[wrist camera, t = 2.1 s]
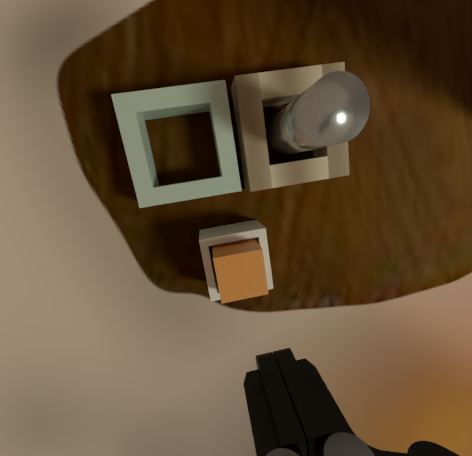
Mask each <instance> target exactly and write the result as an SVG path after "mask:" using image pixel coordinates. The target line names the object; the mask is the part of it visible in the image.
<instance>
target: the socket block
mask: <svg viewBox="0 0 472 456" xmlns="http://www.w3.org/2000/svg"><path fill="white" fill-rule="evenodd" d="M334 71H345V62H339V63H331V64H323V65H315V66H307V67H299V68H292V69H284V70H276V71H268V72H260V73H252V74H244V75H237V76H234V79H233V83H232V86H231V93H232V100H233V107H234V114H235V121H236V128H237V135H238V142H239V148H240V155H241V162H242V169H243V176H244V183H245V189H246V190H248V191H250V192H252V191H258V190H263V189H269V188H275V187H281V186H287V185H293V184H299V183H305V182H311V181H317V180H323V179H329V178H335V177H341V176H346V175H349V154H348V141H347V142H345V143H341V144H336V145H331V146H327V147H322V148H317V149H313V158H311V159H305V160H298V161H292V162H286V163H280V164H273V165H270V164H269V156H268V147H267V139H266V130H265V122H264V113H263V107H269V106H276V105H283V104H290V103H291V102H292V101H293V100H294V99H296V98H297V97H298V96H299V95H300V94H302V93H303V92H304V91H305V90H307V89H308V88H309V87H310V86H311V85H313V84H314V83H315V82H316V81H317V80H319V79H320V78H321V77H323V76H324V75H326V74H328V73H330V72H334Z"/></svg>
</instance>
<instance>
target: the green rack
mask: <svg viewBox="0 0 472 456" xmlns="http://www.w3.org/2000/svg"><path fill="white" fill-rule="evenodd" d="M111 97H112V101H113V105H114V109H115V113H116V117H117V120H118V124H119V128H120V132H121V136H122V140H123V144H124V148H125V152H126V156H127V160H128V164H129V168H130V172H131V176H132V180H133V184H134V188H135V192H136V196H137V200H138V204H139V208H143V207H149V206H155V205H161V204H167V203H172V202H178V201H184V200H190V199H196V198H202V197H208V196H214V195H220V194H226V193H232V192H238V191H242V190H241V183H240V176H239V169H238V163H237V156H236V149H235V142H234V136H233V129H232V122H231V115H230V109H229V102H228V95H227V88H226V82H225V80H219V81H211V82H204V83H196V84H188V85H180V86H172V87H165V88H157V89H149V90H141V91H133V92H126V93H118V94H111ZM208 111H210V117H211V123H212V129H213V135H214V141H215V147H216V153H217V159H218V165H219V171H220V176H218V177H212V178H206V179H200V180H193V181H187V182H181V183H175V184H169V185H162V186H159V182H158V178H157V173H156V169H155V164H154V160H153V156H152V151H151V147H150V142H149V138H148V134H147V129H146V125H145V120H150V119H157V118H165V117H172V116H179V115H186V114H194V113H201V112H208Z"/></svg>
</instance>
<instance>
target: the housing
mask: <svg viewBox="0 0 472 456" xmlns="http://www.w3.org/2000/svg"><path fill="white" fill-rule="evenodd" d="M250 238H255V240H256V241H257V242H258V244H259V245H260V246H261V248H262V249H263V257H264V264H265V271H266V279H267V286H268V290H269V289H273V281H272V274H271V266H270V258H269V251H268V243H267V235H266V228H265V227H264V226H263V225H262V224H261V223H260V222H258V221H257V220H252V221H246V222H241V223H235V224H230V225H224V226H218V227H213V228H207V229H202V230H200V232H199V244H200V249H201V254H202V259H203V264H204V269H205V274H206V279H207V284H208V289H209V294H210V299H211V301H215V300H220V299H221V298H220V293H219V288H218V282H217V277H216V276H215V271H214V266H213V261H212V255H211V250H210V246H212V245H218V244H223V243H228V242H234V241H239V240H245V239H250Z"/></svg>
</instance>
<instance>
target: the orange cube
mask: <svg viewBox="0 0 472 456" xmlns="http://www.w3.org/2000/svg"><path fill="white" fill-rule="evenodd" d="M212 253H213V261H214V266H215V272H216V277H217V282H218V288H219V293H220V298H221V304H222V303H227V302H232V301H236V300H241V299H246V298H251V297H256V296H261V295H266V294H268V286H267V279H266V271H265V264H264V257H263V249H262V248H261V246H260V245H259V244H258V242H257V241H256V240H255V238H250V239H245V240H239V241H234V242H229V243H223V244H218V245H212Z"/></svg>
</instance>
